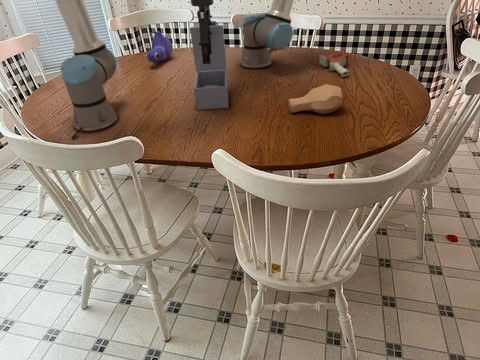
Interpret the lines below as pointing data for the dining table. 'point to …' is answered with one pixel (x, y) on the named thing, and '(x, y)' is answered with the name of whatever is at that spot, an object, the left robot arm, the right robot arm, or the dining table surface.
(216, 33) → the lid
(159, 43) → the toy
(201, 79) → the chest
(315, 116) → the dining table surface
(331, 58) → the grey red-topped piece
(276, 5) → the right robot arm
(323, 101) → the squash
